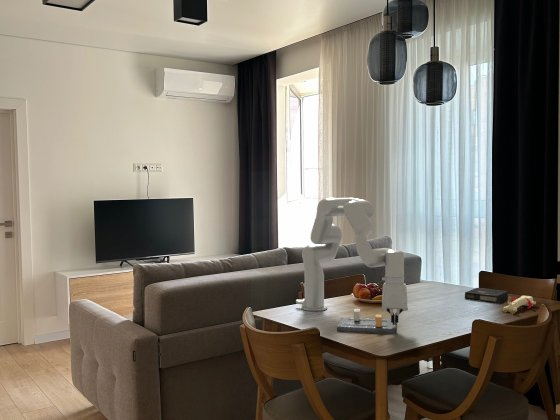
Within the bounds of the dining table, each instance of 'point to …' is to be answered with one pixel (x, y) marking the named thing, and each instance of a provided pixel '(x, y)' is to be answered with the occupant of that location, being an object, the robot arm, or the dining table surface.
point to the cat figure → (518, 303)
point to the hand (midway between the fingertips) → (394, 324)
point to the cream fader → (357, 314)
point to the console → (365, 326)
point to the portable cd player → (486, 295)
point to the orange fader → (378, 320)
